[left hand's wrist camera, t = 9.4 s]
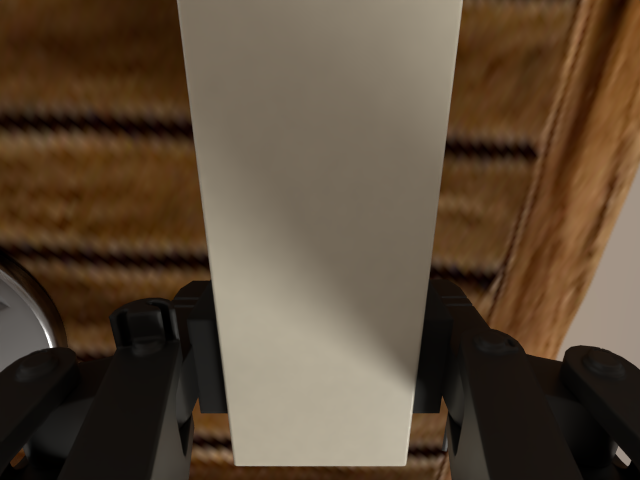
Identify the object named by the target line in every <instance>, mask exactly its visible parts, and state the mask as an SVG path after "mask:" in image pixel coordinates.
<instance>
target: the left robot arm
mask: <svg viewBox="0 0 640 480" xmlns="http://www.w3.org/2000/svg"><path fill="white" fill-rule="evenodd" d="M109 319H110V323H111V327H112V331H113V335H114V339H115V344H116V348H117V350H116V352H115V354H114V356H111V357H107V358H102V359H97V360H92V361H87V362H82V363H78V360H77V357H76V354H75V352H74V351H72V350H71V349H70V348H68V344H67V336H66V332H65V328H64V325H63V323H62V320H61V318H60V316H59V313H58V311H57V310H56V308H55V306H54V305H53V303H52V301H51V300H50V299H49V297H48V296H47V294H46V293H45V292H44V291H43V289H42V288H41V287H40V286H39V285H38V284H37V283H36V282H35V281H34V280H33V279H32V278H31V277H30V276H29V275H28V274H27V273H26V272H25V271H23V270H22V269H21V268H20V267H18V266H17V265H16V264H14V263H13V262H12V261H10V260H9V259H7V258H5V257H4V256H2V255H1V254H0V480H188V479H189V470H190V461H191V452H192V443H193V434H194V422H193V416H192V411H193V408H194V406H195V403H196V401H197V398H198V397H199V404H200V410H201V413H228V409H227V401H226V393H225V385H224V377H223V369H222V361H221V353H220V345H219V337H218V329H217V320H216V312H215V304H214V296H213V288H212V280H210V281H192V282H190V283H189V284H187V285H186V286H184V287H183V288H181V289H180V290H179V292H178V293H177V294H176V296H175V297H174V300H172V301H170V300H167V299H163V298H146V299H140V300H136V301H133V302H130V303H128V304H125V305H123V306H121V307H120V308H118V309H116V310H115V311H114V312H113V313H112V314H111V315H110V316H109ZM442 396H443V398H444V401H445V403H446V406H447V408H448V416H447V422H446V428H445V434H444V440H443V446H442V451H447V447H448V451H449V460H450V469H451V478H452V480H640V370H639V369H638V368H637V367H636V366H635V365H633V364H632V363H630V362H629V361H627V360H626V359H624V358H623V357H621V356H619V355H616V354H614V353H612V352H611V351H608V350H605V349H600V348H598V347H592V346H582V345H580V346H573V347H570V348H569V349H568V350H566V352H565V355H564V358H563V362H561V361H556V360H551V359H546V358H541V357H536V356H532V355H528V354H526V353H525V351H524V349H523V347H522V346H521V345H520V344H519V342H518V341H517V340H515V339H514V338H512V337H511V336H509V335H508V334H505V333H503V332H501V331H498V330H494V329H490V327H489V326H488V325H487V323H486V322H485V321H484V319H483V318H482V317H481V315H480V314H479V313H478V311H477V310H476V309H475V307H474V306H472V303H471V302H470V300H469V299H468V298H467V296H466V295H465V294H464V292H463V291H462V290H461V288H460V287H458V286H457V285H455V284H454V283H452V282H450V281H449V280H430V279H429V282H428V290H427V298H426V306H425V314H424V322H423V331H422V339H421V347H420V355H419V363H418V371H417V380H416V388H415V396H414V404H413V412H412V413H439V412H440V406H441V399H442ZM618 446H619V447H620V448H621V449H622V450H623V451H624V452H625V454H626V455H627V456H628V457H629V458H630V459H631V463H630V465H629V466H626V465H625V464H624V463H623V462H622V461H621V460H620V459H619V457H618V456H617V455H616V454H615V453H616V451H617V448H618ZM22 447H23V450H24V452H25V456H24V458H23V459H22V460H21V461H20V462H19V463H18V464H17V465H16V466H15V467H12V466H11V464H10V461H11V460H12V459H13V458H14V457H15V456H16V454H17V453H18V452H19V451H20V450H21V449H22Z"/></svg>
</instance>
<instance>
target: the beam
mask: <svg viewBox="0 0 640 480" xmlns="http://www.w3.org/2000/svg"><path fill="white" fill-rule="evenodd" d="M462 4H463V0H177V5H178V13H179V21H180V29H181V37H182V45H183V53H184V61H185V70H186V78H187V86H188V94H189V102H190V110H191V118H192V126H193V134H194V142H195V150H196V159H197V167H198V175H199V183H200V191H201V199H202V207H203V215H204V223H205V231H206V240H207V248H208V256H209V264H210V272H211V280H212V288H213V296H214V304H215V312H216V320H217V329H218V337H219V345H220V353H221V361H222V369H223V377H224V385H225V393H226V401H227V409H228V418H229V426H230V434H231V442H232V450H233V458H234V464H235V465H236V466H405V465H406V461H407V453H408V445H409V437H410V429H411V420H412V412H413V404H414V396H415V388H416V380H417V371H418V363H419V355H420V347H421V339H422V331H423V322H424V314H425V306H426V298H427V290H428V282H429V273H430V265H431V257H432V249H433V241H434V233H435V224H436V216H437V208H438V200H439V192H440V184H441V175H442V167H443V159H444V151H445V143H446V135H447V126H448V118H449V110H450V102H451V94H452V86H453V77H454V69H455V61H456V53H457V45H458V37H459V28H460V20H461V12H462Z"/></svg>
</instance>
